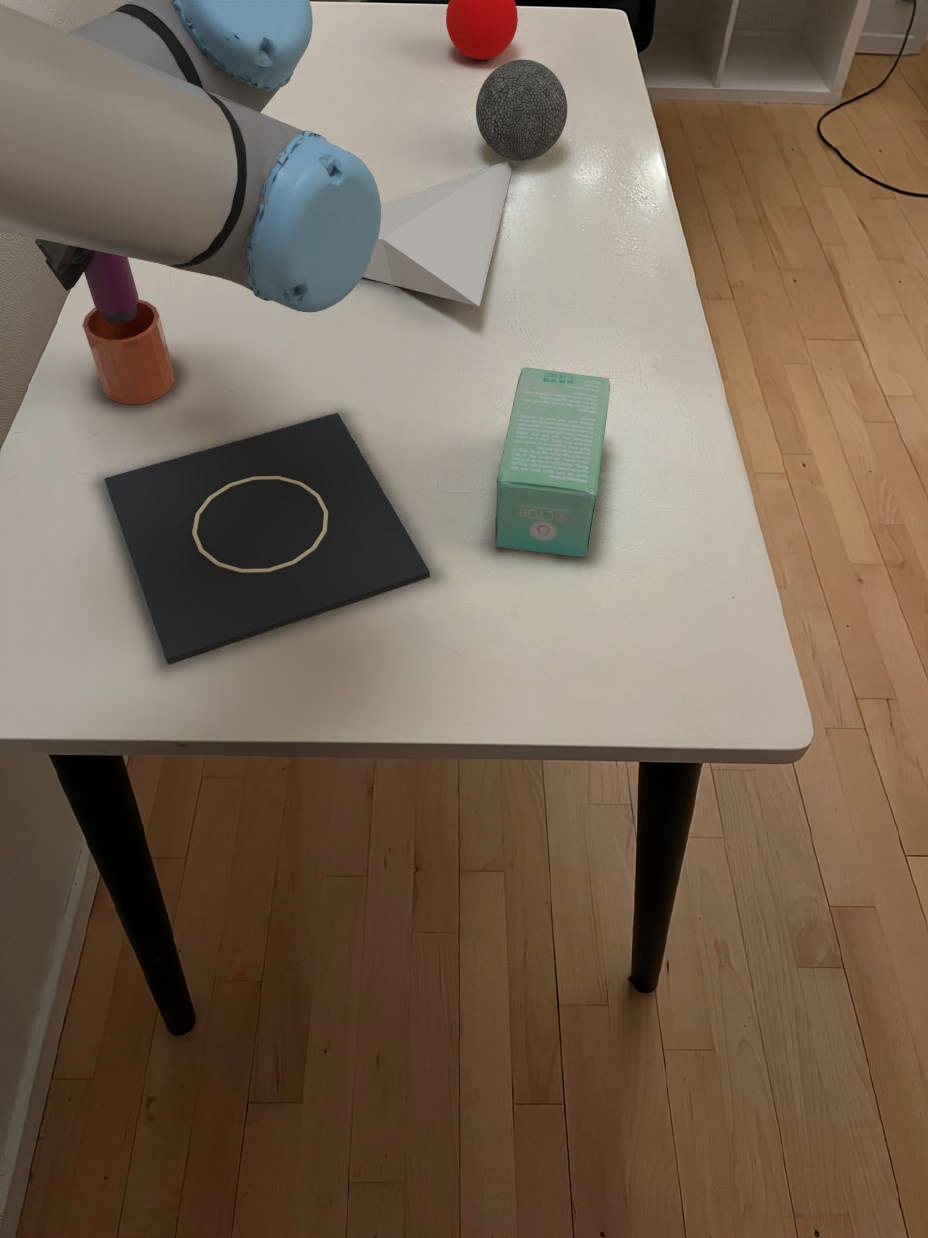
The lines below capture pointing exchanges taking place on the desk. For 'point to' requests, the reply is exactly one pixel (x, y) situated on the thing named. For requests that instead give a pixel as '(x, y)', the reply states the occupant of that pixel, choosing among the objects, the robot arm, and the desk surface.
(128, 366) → the pen pot
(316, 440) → the felt pad
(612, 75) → the desk surface
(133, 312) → the cylinder
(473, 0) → the ornament
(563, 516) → the box
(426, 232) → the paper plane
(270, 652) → the desk surface
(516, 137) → the decorative ball
